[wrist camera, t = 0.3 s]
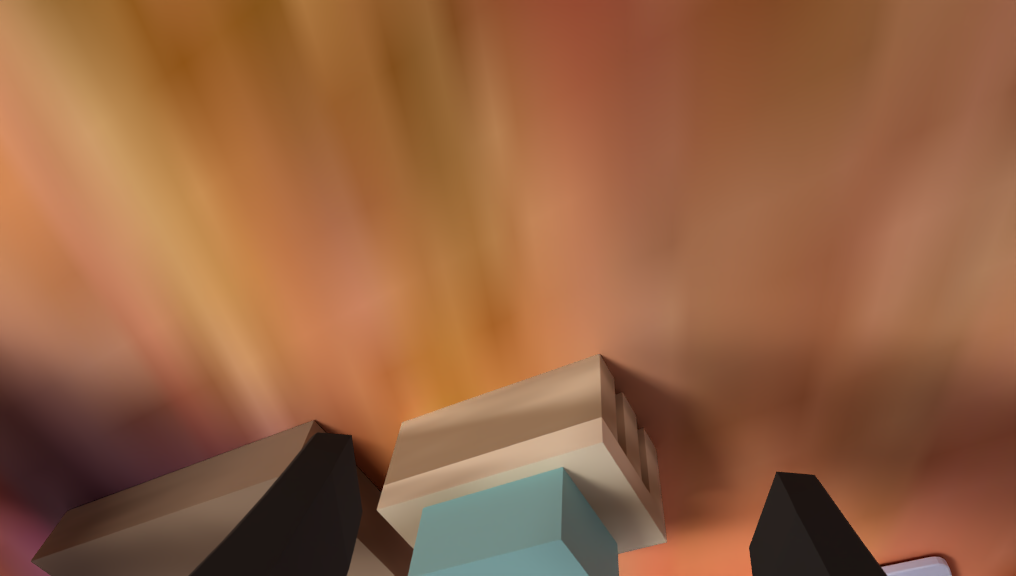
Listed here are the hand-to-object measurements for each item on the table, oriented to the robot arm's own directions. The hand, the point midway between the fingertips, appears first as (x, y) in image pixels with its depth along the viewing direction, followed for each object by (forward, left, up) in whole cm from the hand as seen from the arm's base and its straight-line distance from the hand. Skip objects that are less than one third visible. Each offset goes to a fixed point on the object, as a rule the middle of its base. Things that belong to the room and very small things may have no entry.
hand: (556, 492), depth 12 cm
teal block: (-8, +5, -6) cm, 11 cm away
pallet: (-8, +5, -10) cm, 14 cm away
